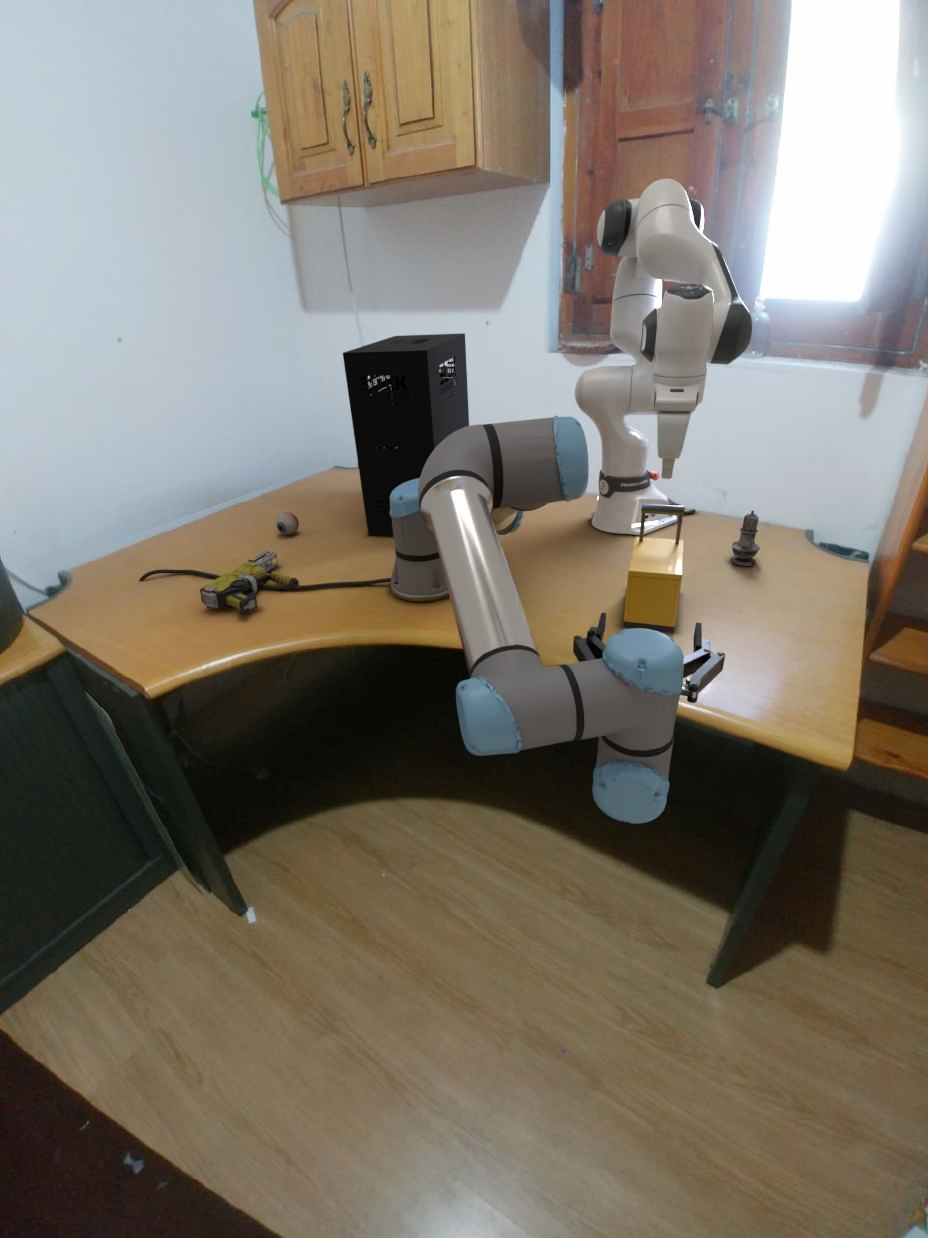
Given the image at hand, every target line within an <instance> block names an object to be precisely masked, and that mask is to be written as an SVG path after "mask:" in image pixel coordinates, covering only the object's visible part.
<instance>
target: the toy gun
mask: <svg viewBox="0 0 928 1238" xmlns="http://www.w3.org/2000/svg"><path fill="white" fill-rule="evenodd" d="M274 559H276V562H275V563H274V562H273V560H274ZM278 566H279V560H278V553H277V552H275V551H270V550H265V551H264V552H262V553H260V554H258V555H257V556H255V557H254V558H252V559H248V560H247V561H245V562H243V563H242V564H239V565H238V566H236V567H235V568H232V569H231V570H229V571H228V572H226V573H224V574H223V575H220V576H221V577H219V578H217V579H215V578H214V580H211V581H210V582H208V583H207V584H204V585H203V586H201V587H200V588H199V593H200V599H201V603H202V604H203V606H205V607H206V609H210V610H215V609H217V610H218V609H219V610H221V609H227V608H230V607H233V608H236V609H237V610H239V611H240V616H246V615H247V614H250V613H251V612H253V611H255V610H257V609H258V601H257V600H258V599H257V595H256V593H257V592H258V588H257V587H258V586H259V585H266V584H267V583H268V582H273V583H276V584H279V585H280V586H288V587H290V588H294V586H300V583H299V582H300V581H299V579H298V578H296V577H290V576H289V575H286V574H283V573H281V572H278V571H272V570H273V569H274V568H276V567H278ZM269 571H271V573H270V574H269V573H268V572H269Z"/></svg>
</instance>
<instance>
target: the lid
mask: <svg viewBox="0 0 928 1238" xmlns="http://www.w3.org/2000/svg"><path fill="white" fill-rule="evenodd" d="M685 509H686V507H685V505H681V506H678V505H660V504H642V509H641V513H642V518H641V527H640V535H639V536H635V538H634V543H633V546H632V552H631V556H630V562H629V567H628V571H627V577H628V576H636V577H647V578H658V579H669V580H680V581H681V580H682V581H683V571H684V570H683V566H684V544H685V543H684V539H680V538H681V532H682V524H683V517H684V516H685V515H684V512H685ZM646 513H649V514H665V515H676V516H678V517H677V527H676V534H675V539H673V538H659V537H647V536H645V534H644V526H645V516H646ZM682 581H681V582H682Z"/></svg>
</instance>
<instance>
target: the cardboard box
mask: <svg viewBox="0 0 928 1238" xmlns="http://www.w3.org/2000/svg"><path fill="white" fill-rule="evenodd" d="M466 348H467V347H466V333H440V334H439V333H437V334H435V333H434V334H410V335H409V334H407V335H394V336H391V337H390V336H389V337H387V338H384V339H381V340H378V341H375V342H372V343H369V344H366V345H362V346H360V347H357V348H353V349H350V350H347V351H343V352H342V358H343V365H344V373H345V380H346V387H347V394H348V399H349V400H348V401H349V409H350V414H351V423H352V431H353V436H354V444H355V451H356V457H357V459H356V460H357V465H358V472H359V479H360V486H361V494H362V500H363V501H362V502H363V508H364V515H365V523H366V529H367V535H368V536H381V537H382V536H384V537H394V535H393V526H392V517H391V516H390V495H391V493H392V491H393V490H394V489H395V488H396V487H397V486H399V485H401V484H402V483H405V482H407V481H410V480H413V479H417V478H420V476H421V473H422V470H423V468H424V466H425V463H426V461H427V459H428V458H429V456H430V455H431V453H432V452H433V450H434V449H435V448H436V447H437V446H438V445H439V444H440V443H441V442H442V441H443V440H444V439H445V438H446V437H447V436H449V435H450V434H452V433H453V432H455V431H457V430H459V429H461V428H464V427H467V426H470V413H469V392H468V391H469V390H468V389H469V388H468V370H467V350H466ZM446 362H447V364H445V363H446ZM441 365H442V366H441Z"/></svg>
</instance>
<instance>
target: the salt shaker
mask: <svg viewBox="0 0 928 1238" xmlns="http://www.w3.org/2000/svg"><path fill="white" fill-rule="evenodd" d="M758 523H759V516H758V515H757V514H755V511H754V509H752V510H751V511H750V513H747V514H746V515H744V517H743V522H742V527H740V528H739V531H740V535H739V539H738V541H734V542H732V543H731V548H732V549H731V550H732V553H733V555H734V556H731V557H730V559H729V561H730V563H732V564H735V565H738V566H741V567H750V566H753V565H755V564H756V563H757V562H756V559H754V557H756V555H757V554H758V552H759V551H760V550H761V546H760V545H759V544H757V543H756V536H757V533H758V532H759V530H758V529H757V528H758Z"/></svg>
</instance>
